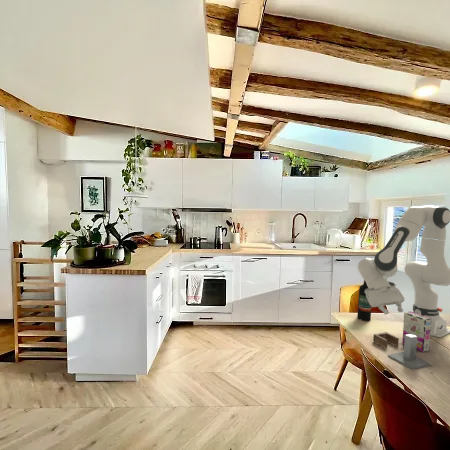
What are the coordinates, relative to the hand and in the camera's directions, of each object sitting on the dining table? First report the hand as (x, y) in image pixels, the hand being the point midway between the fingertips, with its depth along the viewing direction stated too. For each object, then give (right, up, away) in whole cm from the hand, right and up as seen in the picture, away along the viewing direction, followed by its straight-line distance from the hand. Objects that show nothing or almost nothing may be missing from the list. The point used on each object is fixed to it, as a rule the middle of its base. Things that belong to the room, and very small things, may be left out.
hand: (394, 312), depth 145 cm
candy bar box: (+14, -19, +7) cm, 25 cm away
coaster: (+2, -20, -8) cm, 21 cm away
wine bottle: (+5, -16, +42) cm, 46 cm away
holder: (+1, -19, +9) cm, 20 cm away
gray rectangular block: (+3, -19, -8) cm, 21 cm away
